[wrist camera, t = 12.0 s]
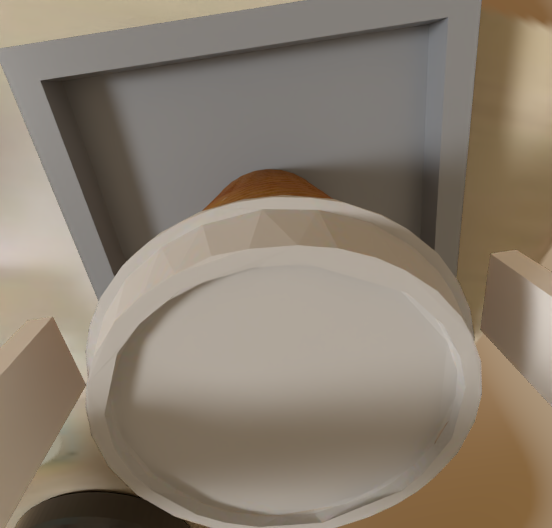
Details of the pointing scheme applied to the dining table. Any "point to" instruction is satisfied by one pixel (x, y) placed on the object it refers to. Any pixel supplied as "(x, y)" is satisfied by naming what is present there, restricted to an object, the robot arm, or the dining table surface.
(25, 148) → the dining table surface
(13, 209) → the dining table surface
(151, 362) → the disposable coffee cup
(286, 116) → the tray
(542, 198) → the dining table surface
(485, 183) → the dining table surface
